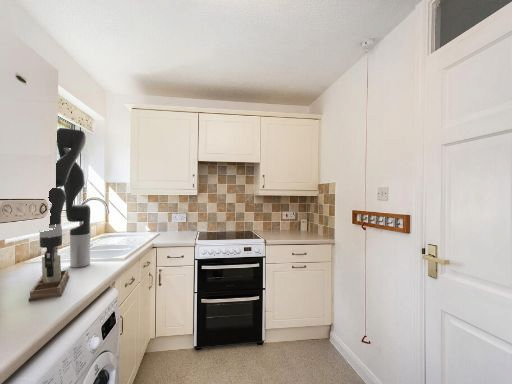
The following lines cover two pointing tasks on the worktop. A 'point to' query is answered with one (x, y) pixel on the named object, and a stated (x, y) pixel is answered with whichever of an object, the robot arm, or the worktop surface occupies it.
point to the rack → (49, 288)
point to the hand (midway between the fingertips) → (51, 274)
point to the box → (56, 270)
